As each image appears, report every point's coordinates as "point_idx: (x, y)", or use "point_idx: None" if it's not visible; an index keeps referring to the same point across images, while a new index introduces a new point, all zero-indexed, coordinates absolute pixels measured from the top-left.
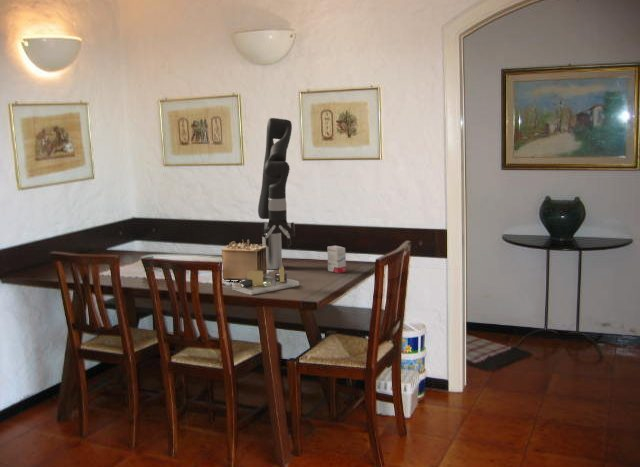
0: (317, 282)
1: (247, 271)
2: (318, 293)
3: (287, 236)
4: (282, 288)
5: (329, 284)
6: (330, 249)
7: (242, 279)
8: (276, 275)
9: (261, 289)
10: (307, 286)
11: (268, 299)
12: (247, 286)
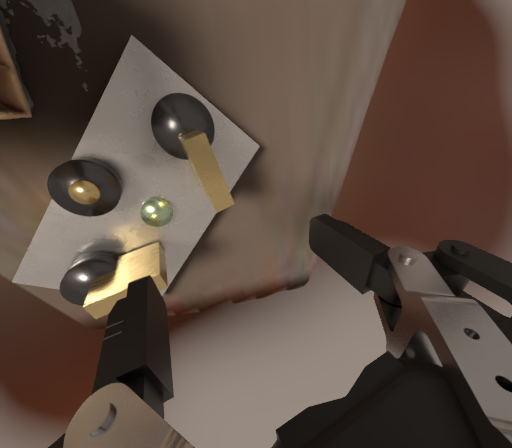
0: (302, 70)
1: (96, 318)
2: None
3: (385, 311)
4: None
5: (335, 104)
6: None
7: (71, 292)
8: (171, 154)
9: (175, 272)
10: (279, 148)
11: (220, 303)
12: None
